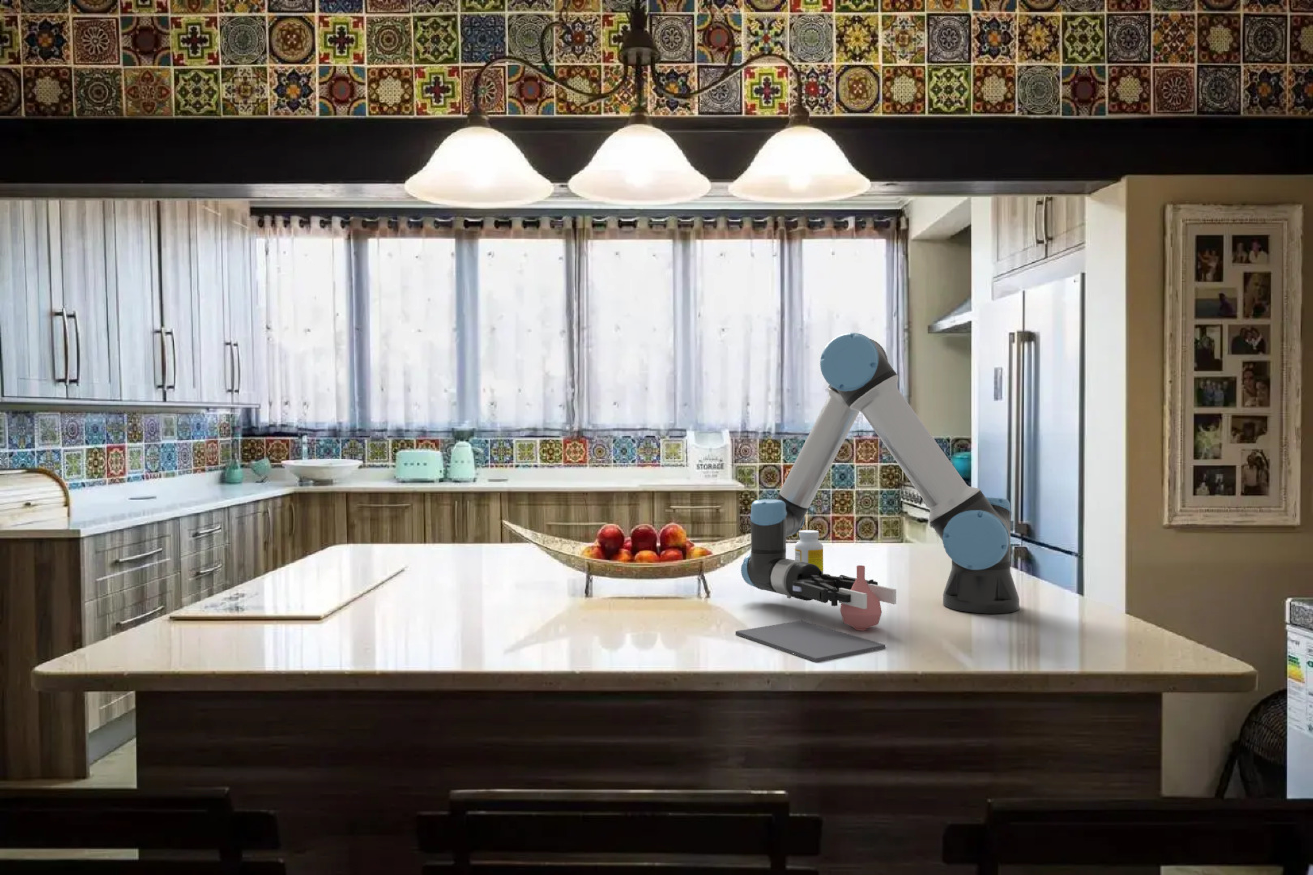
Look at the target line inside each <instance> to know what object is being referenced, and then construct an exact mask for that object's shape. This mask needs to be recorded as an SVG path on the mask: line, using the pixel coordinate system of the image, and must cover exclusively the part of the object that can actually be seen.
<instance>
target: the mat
mask: <svg viewBox="0 0 1313 875" xmlns="http://www.w3.org/2000/svg"><path fill="white" fill-rule="evenodd" d="M735 635H736V636H738V637H742V636H744V637H746V638H745V639H747V638H748V640H750V639H751V641H753V640H755V641H754V642H756V641H757V643H760V644H762V645H765V644H766V645H765V646H768V645H769V647H771V648H774V649H776V648H778V649H777V650H779V649H780V651H782V650H783V651H782V652H785V653H788V654H791V653H794V654H796V655H795V656H797V655H798V656H797V657H800V656H801V657H800V658H803V657H805V658H807V659H806V660H808V659H809V661H811V660H812V662H814V661H815V662H814V663H817V661H818V662H823V661H827V660H832V659H837V658H842V657H848V656H854V655H858V654H863V653H868V652H873V651H878V650H883V649H886V644H884V643H881V642H877V641H873V640H870V639H867V638H863V637H860V636H857V635H853V634H849V633H846V632H843V631H839V630H836V629H832V628H830V627H827V626H826V627H825V626H822V625H819V624H815V623H813V622H808V621H805V620H802V619H800V620H795V621H791V622H790V621H789V622H783V623H778V624H771V625H766V626H759V627H758V626H757V627H754V628H747V629H741V630H736V631H735ZM744 637H743V638H744ZM794 654H793V655H794ZM805 658H804V659H805Z"/></svg>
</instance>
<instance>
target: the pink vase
mask: <svg viewBox="0 0 1313 875" xmlns="http://www.w3.org/2000/svg"><path fill="white" fill-rule="evenodd" d="M865 573H866V566H865V565H858V564H857V565H856V577H855V578H856V580H855V582H854V584H853V586H852V588H851V589H850V590H853V591H857V592H861V593H866V594H867V609H862V608H858V607H854V606H850V605H846V604H842V603H840V608H839V611H840V615H841V618H842V621H843V624H846V625H848V626H850V627H852V628H854V630H856V631H861V632H862V631H867V630H868V628H871V627H875V626H877V625H879V622H880V619H881V616H882V607H881V601H880V600H879V599H878V597H877V596H876V595H875V594H874V593H873V592H872V591H871V590H870V588H869V586H868V584H867V582H866V580H867V579H866V574H865Z"/></svg>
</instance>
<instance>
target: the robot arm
mask: <svg viewBox="0 0 1313 875" xmlns="http://www.w3.org/2000/svg"><path fill="white" fill-rule="evenodd" d="M820 356H821V357H820V363H819V366H820V371H821V375H822V377H823V378H824V380H825V382H826V384H828V387H827V391H828V397H827V399H826V401H825V402H824V405H823V406H822V408H821V410H820V412H819V414H818V416H817V418H816V420H815V422H814V424H813V426H812V427H811V430H810V432H809V434H808V435H807V438H806V440H805V442H804V443H803V446H802V448H801V450H800V451H799V453H798V454H797V457H796V459H795V461H794V463H793V465H792V467H791V469H790V471H789V473H788V475H787V476H786V478H785V481H784V483H783V484H782V487H781V488H780V491H779V493H778V494H777V497H776V498H775V499H768V498H766V499H756V500H753V501H752V503H751V507H750V515H749V518H750V553H749V554H748V555H747V556H745V557H744V559H743V562H742V563H741V566H740V567H741V568H740V573H741V577H742V579H743V581H744V582H745V583H746V584H747V585H749V586H751V587H753V588H756V589H758V590H761V591H768V592H771V593H776V594H780V595H784V596H786V598H787V599H792V598H793V599H794V598H795V599H797V600H798V599H799V600H802V601H806V602H809V601H810V602H811V601H816V602H821V603H823V604H827V603H828V602H830V603H831V604H830V605H831V607H837V606H839V605H838V603H839V604H841V603H842V604H846V605H850V606H854V607H858V608H862V609H867V594H866V593H861V592H857V591H853V590H850V589H851V588H852V586H853V584H854V582H855V580H856V578H857V577H851V576H847V575H844V574H841V575H839V576H837V575H836V576H834V575H831V574H829V573H824V572H823V573H822V572H821V570H820V569H819V568H818V567H817V566H816V565H814V564H810V563H805V562H801V561H796V560H795V559H790V558H787V537H790V536H794V535H796V534H797V533H799V531H801V529H802V527H803V526H804V525H805V518H806V515H807V512H808V511H809V507H810V506H811V504H812V502H813V500H814V498H815V497H816V495H817V493H818V491H819V489H820V487H821V485H822V483H823V482H824V479H825V477H826V476H827V474H828V472H829V470H830V468H832V465H833V463H834V460H836V457H837V455H838V453H839V451H840V450H841V447H842V445H843V444H844V442H845V440H846V438H847V436H848V434H849V432H850V430H851V429H852V427H853V425H854V423H855V421H856V419H857V417H858V415H859V414H860V412H861V414H862V415H863V416H864V417H865V419H866V420H867V422H868V423H869V425H870V426H871V427H872V429H873V430H874V432H875V434H876V435H877V436H878V438H879V440H881V442H882V443H883V445H884V446H885V447H886V449H887V450H888V452H889V453H890V455H891V456H892V457H893V459H894V460H895V462H896V464H897V465H898V466H899V468H900V469H901V470H902V472H903V474H904V475H905V476H906V477H907V479H908V481H909V482H910V483H911V484H912V486H913V487H914V489H915V490H916V492H917V493H918V494H919V496H920V497H921V498H922V500H923V501H924V503H925V505H926V506H927V507H928V509H929V515H928V516H929V517H928V522H929V523H930V525H931V527H932V528H933V529H934V531H935V533H936V534H937V535H938V536H939V538H940V539H941V542H942V544H943V549H944V550H945V553H946V554H947V556H948V557H949V559H951V570H950V572H949V574H948V575H949V576H948V578H947V581H946V584H945V587H944V590H943V594H942V604H943V606H944V607H947V608H949V609H951V610H954V611H961V612H965V613H975V614H1009V613H1014V612H1017V611H1018V610H1019V609H1020V597H1019V593H1018V591H1017V587H1016V584H1015V581H1014V578H1013V576H1012V572H1011V517H1012V510H1011V503H1010V501H1009V500H1008V499H1007V498H1004V497H1002V498H1001V497H988V496H987V497H986V496H985V495H984V493H983V491H982V490H981V489H980V488H978V487H972V486H969V485H968V484H967V483H966V481H965V480H964V479H963V478H962V476H961V475H960V473H959V472H958V470H957V469H956V468H955V466H954V464H952V462H951V460H950V459H949V458H948V457H947V455H946V453H944V451H943V450H942V449H941V447H940V445H939V444H938V443H937V440H935V438H934V437H933V436H932V434H931V433H930V432H929V430H928V428H927V427H926V426H925V425H924V423H923V422H922V420H921V419H920V418H919V416H918V415H917V414H916V411H915V410H914V409H913V408H912V406H911V405H910V404H909V402H908V401H907V399H906V398H905V397H904V395H903V394H902V393H901V391H900V390H899V388H898V381H899V376H898V373H896V371H895V370H894V368H893V367H892V366H891V364H890V363H889V359H888V355H887V353H886V351H885V349H884V348H883V346H881V345H880V343H878V342H877V341H876V340H874V339H871V338H869V337H868V336H866V335H864V334H863V333H858V332H848V333H844V334H843V333H842V334H839V335H838V336H835V337H833V338H832V339H831V340H830V341H829V342H828V343H827V344H826V345H825V347H824V348H823V350H822V352H821V355H820ZM865 580H866V582H867V584H868V586H869V588H870V590H871V591H872V592H873V593H874V594H875V595H876V596H877V597H878V599H879V600H880V602H882V603H887V604H892V605H896V604H897V589H896V588H893V587H887V586H884V585H879V583H878V581H876V580H875V581H874V579H869V580H868V579H865Z"/></svg>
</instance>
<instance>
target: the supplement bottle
mask: <svg viewBox="0 0 1313 875" xmlns="http://www.w3.org/2000/svg"><path fill="white" fill-rule="evenodd" d="M819 533H820V532H819V530H813V529H803V530H799V531H798V538H799V540H798V541H797V542H796V543H795V545H794V560H796V561H801V562H805V563H810V564H814V565H816V566H817V567H818V568H819V569H820V570H821V572H822V573H823V574H824V545H823V543H822V542H820V541H819V536H820V534H819Z"/></svg>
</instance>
